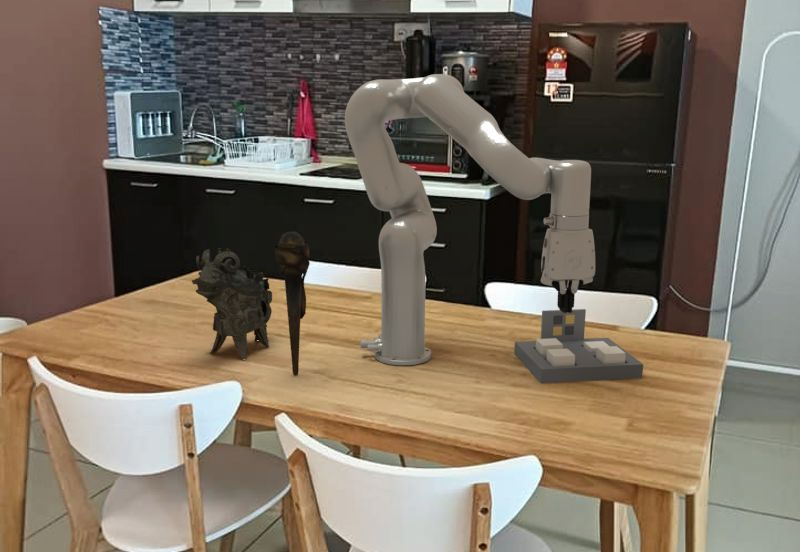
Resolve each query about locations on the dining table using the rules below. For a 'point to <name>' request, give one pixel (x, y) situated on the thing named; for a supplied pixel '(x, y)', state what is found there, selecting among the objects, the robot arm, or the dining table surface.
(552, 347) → the button
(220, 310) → the vessel
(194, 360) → the dining table surface
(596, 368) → the board
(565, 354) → the button
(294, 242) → the decorative torch
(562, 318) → the card
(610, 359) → the button
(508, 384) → the dining table surface
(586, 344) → the button
